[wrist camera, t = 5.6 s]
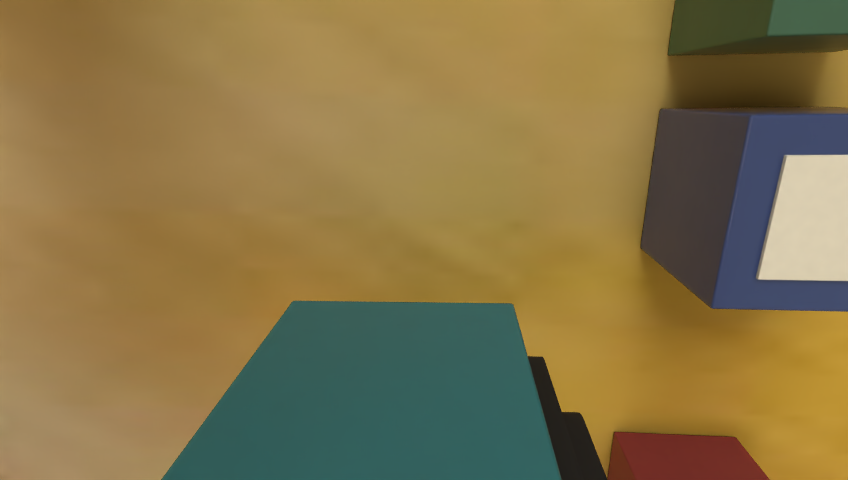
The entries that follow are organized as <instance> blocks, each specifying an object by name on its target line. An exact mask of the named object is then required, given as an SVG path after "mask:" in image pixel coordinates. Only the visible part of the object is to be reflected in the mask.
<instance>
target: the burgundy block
mask: <svg viewBox="0 0 848 480" xmlns="http://www.w3.org/2000/svg"><path fill="white" fill-rule="evenodd" d="M608 480H770V479H769V478H768V477H767V476H766V474H765V473H764V472H763V471H762V469H761V468H760V467H759V466H758V465H757V463H756V462H755V461H754V460H753V458H752V457H751V456H750V455H749V453H748V452H747V451H746V450H745V448H744V447H743V446H742V445H741V443H740V442H739V441H738V440H737V438H735V437H722V436H699V435H675V434H652V433H629V432H614V438H613V445H612V452H611V459H610V466H609V473H608Z"/></svg>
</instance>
